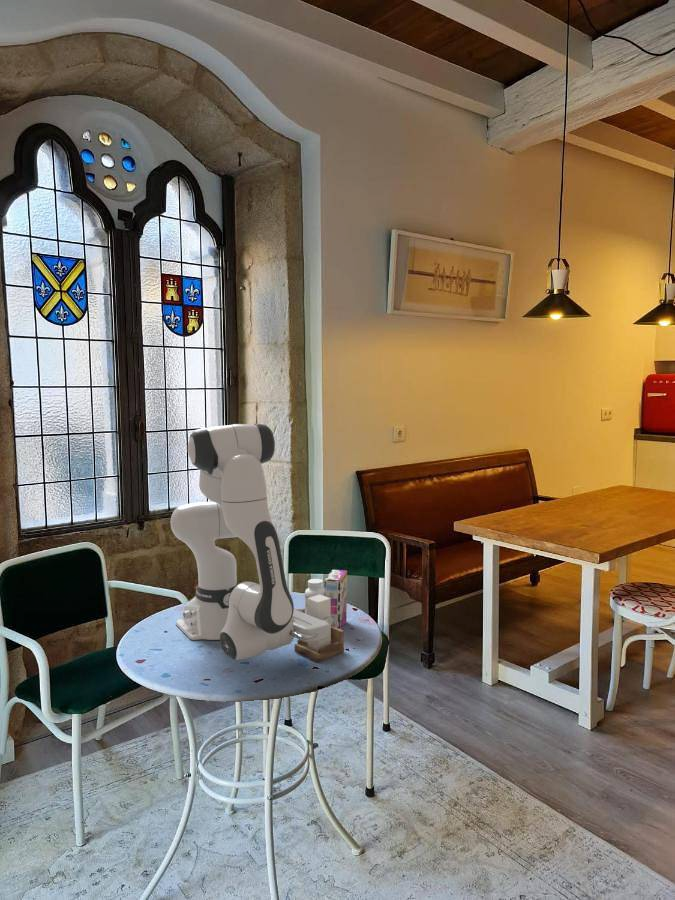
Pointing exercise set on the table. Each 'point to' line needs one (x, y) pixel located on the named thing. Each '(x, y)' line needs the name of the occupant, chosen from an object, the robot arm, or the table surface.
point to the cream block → (319, 617)
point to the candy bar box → (337, 596)
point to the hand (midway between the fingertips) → (319, 615)
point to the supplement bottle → (314, 589)
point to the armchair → (326, 651)
